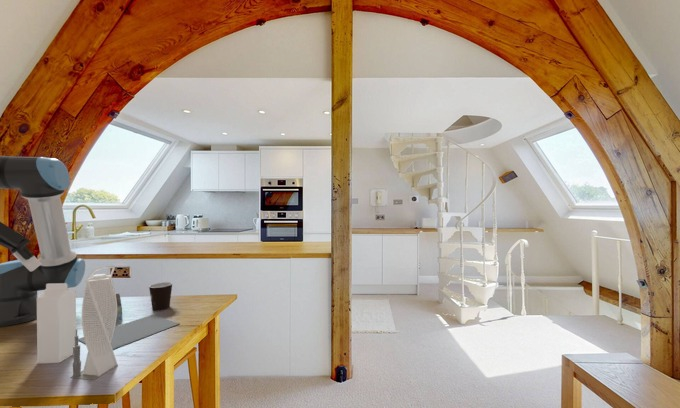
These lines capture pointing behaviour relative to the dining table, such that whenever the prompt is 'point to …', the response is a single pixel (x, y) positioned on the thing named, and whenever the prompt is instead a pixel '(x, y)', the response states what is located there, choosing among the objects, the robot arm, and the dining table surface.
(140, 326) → the mat
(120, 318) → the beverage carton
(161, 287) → the coffee mug
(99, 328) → the skyscraper
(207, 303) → the dining table surface
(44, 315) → the milk
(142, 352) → the dining table surface
